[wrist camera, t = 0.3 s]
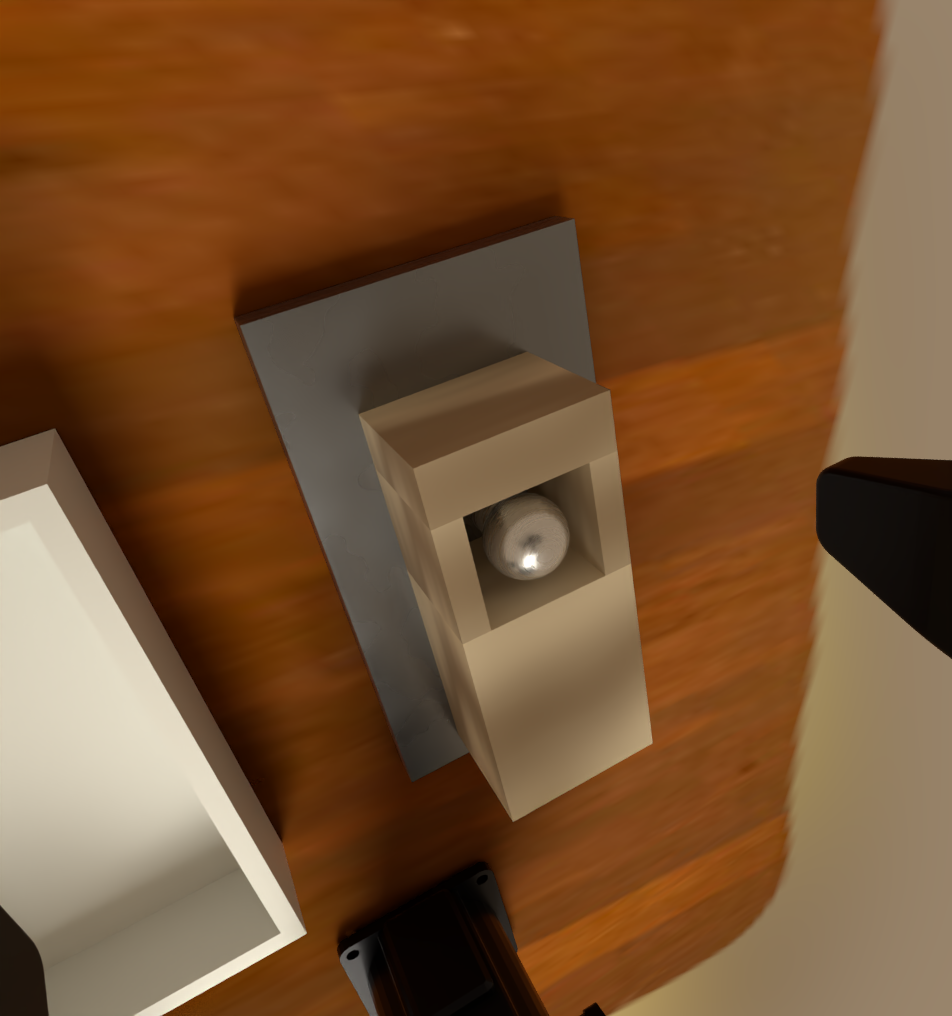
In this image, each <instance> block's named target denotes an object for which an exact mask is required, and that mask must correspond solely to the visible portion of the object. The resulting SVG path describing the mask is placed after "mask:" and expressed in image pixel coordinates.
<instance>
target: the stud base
mask: <svg viewBox="0 0 952 1016" xmlns="http://www.w3.org/2000/svg"><path fill="white" fill-rule="evenodd" d="M234 321H235V323H236V326H237V329H238V331H239V334H240V337H241V339H242V342H243V345H244V347H245V350H246V352H247V355H248V358H249V360H250V363H251V366H252V368H253V371H254V374H255V376H256V379H257V381H258V384H259V387H260V389H261V392H262V395H263V397H264V400H265V403H266V405H267V408H268V410H269V413H270V416H271V418H272V421H273V424H274V426H275V429H276V432H277V434H278V437H279V439H280V442H281V445H282V447H283V450H284V453H285V455H286V458H287V461H288V463H289V466H290V468H291V471H292V474H293V476H294V479H295V482H296V484H297V487H298V490H299V492H300V495H301V497H302V500H303V503H304V505H305V508H306V511H307V513H308V516H309V519H310V521H311V524H312V526H313V529H314V532H315V534H316V537H317V540H318V542H319V545H320V548H321V550H322V553H323V555H324V558H325V561H326V563H327V566H328V569H329V571H330V574H331V577H332V579H333V582H334V584H335V587H336V590H337V592H338V595H339V598H340V600H341V603H342V606H343V608H344V611H345V613H346V616H347V619H348V621H349V624H350V627H351V629H352V632H353V635H354V637H355V640H356V642H357V645H358V648H359V650H360V653H361V656H362V658H363V661H364V664H365V666H366V669H367V671H368V674H369V677H370V679H371V682H372V685H373V687H374V690H375V693H376V695H377V698H378V700H379V703H380V706H381V708H382V711H383V714H384V716H385V719H386V722H387V724H388V727H389V729H390V732H391V735H392V737H393V740H394V743H395V745H396V748H397V751H398V753H399V756H400V758H401V761H402V763H403V765H404V767H405V769H406V771H407V773H408V775H409V777H410V779H411V781H412V782H414V781H416V780H417V779H419V778H421V777H423V776H425V775H427V774H429V773H431V772H433V771H435V770H436V769H438V768H440V767H442V766H444V765H446V764H448V763H450V762H452V761H453V760H455V759H457V758H459V757H461V756H463V755H465V754H467V753H469V751H468V749H467V747H466V746H465V744H464V743H463V741H462V739H461V738H460V736H459V735H458V731H457V728H456V725H455V722H454V719H453V715H452V712H451V709H450V706H449V703H448V699H447V696H446V693H445V690H444V687H443V683H442V680H441V677H440V674H439V671H438V667H437V664H436V661H435V658H434V655H433V651H432V648H431V645H430V642H429V639H428V635H427V632H426V629H425V626H424V623H423V619H422V616H421V613H420V610H419V607H418V603H417V600H416V597H415V594H414V591H413V587H412V584H411V581H410V578H409V575H408V572H407V568H406V565H405V562H404V559H403V556H402V552H401V549H400V546H399V543H398V540H397V536H396V533H395V530H394V527H393V524H392V520H391V517H390V514H389V511H388V508H387V504H386V501H385V498H384V495H383V492H382V488H381V485H380V482H379V479H378V476H377V472H376V469H375V466H374V463H373V460H372V456H371V453H370V450H369V447H368V444H367V440H366V437H365V434H364V431H363V428H362V424H361V421H360V418H359V415H358V414H360V413H363V412H366V411H368V410H371V409H374V408H376V407H379V406H382V405H385V404H387V403H390V402H393V401H395V400H398V399H401V398H403V397H406V396H409V395H412V394H414V393H417V392H420V391H422V390H425V389H428V388H430V387H433V386H436V385H439V384H441V383H444V382H447V381H449V380H452V379H455V378H457V377H460V376H463V375H466V374H468V373H471V372H474V371H476V370H479V369H482V368H484V367H487V366H490V365H493V364H495V363H498V362H501V361H503V360H506V359H509V358H512V357H514V356H517V355H520V354H522V353H525V352H529V353H531V354H533V355H536V356H538V357H540V358H542V359H544V360H546V361H549V362H551V363H553V364H555V365H557V366H559V367H562V368H564V369H566V370H568V371H570V372H572V373H574V374H577V375H579V376H581V377H583V378H585V379H587V380H590V381H592V382H594V383H596V381H595V373H594V365H593V358H592V350H591V342H590V335H589V327H588V319H587V312H586V304H585V296H584V289H583V281H582V274H581V266H580V258H579V251H578V243H577V235H576V228H575V220H574V219H573V218H566V217H558V216H553V217H550V218H547V219H544V220H541V221H538V222H534V223H531V224H528V225H525V226H522V227H519V228H515V229H512V230H509V231H506V232H503V233H500V234H497V235H493V236H490V237H487V238H484V239H481V240H478V241H474V242H471V243H468V244H465V245H462V246H459V247H455V248H452V249H449V250H446V251H443V252H440V253H436V254H433V255H430V256H427V257H424V258H421V259H417V260H414V261H411V262H408V263H405V264H402V265H399V266H395V267H392V268H389V269H386V270H383V271H380V272H376V273H373V274H370V275H367V276H364V277H361V278H357V279H354V280H351V281H348V282H345V283H342V284H338V285H335V286H332V287H329V288H326V289H323V290H319V291H316V292H313V293H310V294H307V295H304V296H301V297H297V298H294V299H291V300H288V301H285V302H282V303H278V304H275V305H272V306H269V307H266V308H263V309H259V310H256V311H253V312H250V313H247V314H244V315H240V316H237V317H234ZM463 521H464V525H465V529H466V533H467V537H468V541H469V542H471V541H473V540H475V539H478V538H480V537H482V543H483V548H484V551H485V553H486V556H487V558H488V559H489V561H490V562H491V564H492V565H493V566H494V567H495V568H496V569H497V570H498V571H500V572H501V573H502V574H504V575H506V576H508V577H510V578H514V579H517V580H534V579H538V578H541V577H544V576H546V575H548V574H549V573H551V572H552V571H553V570H555V569H556V568H557V567H558V566H559V565H560V563H561V562H562V561H563V559H564V557H565V555H566V553H567V550H568V547H569V540H570V533H569V527H568V523H567V521H566V518H565V516H564V514H563V513H562V511H561V510H560V509H559V507H558V506H557V505H556V504H555V503H553V502H552V501H551V500H549V499H547V498H546V497H544V496H541V495H538V494H534V493H528V492H527V490H525V491H522V492H520V493H518V494H515V495H513V496H511V497H508V498H506V499H504V500H501V501H499V502H497V503H494V504H492V505H490V506H487V507H485V508H483V509H480V510H478V511H476V512H473V513H471V514H469V515H466V516H464V517H463Z"/></svg>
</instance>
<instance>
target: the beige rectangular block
mask: <svg viewBox="0 0 952 1016" xmlns="http://www.w3.org/2000/svg"><path fill="white" fill-rule="evenodd" d="M358 415H359V418H360V421H361V424H362V428H363V431H364V434H365V437H366V440H367V444H368V447H369V450H370V453H371V456H372V460H373V463H374V466H375V469H376V472H377V476H378V479H379V482H380V485H381V488H382V492H383V495H384V498H385V501H386V504H387V508H388V511H389V514H390V517H391V520H392V524H393V527H394V530H395V533H396V536H397V540H398V543H399V546H400V549H401V552H402V556H403V559H404V562H405V565H406V568H407V572H408V575H409V578H410V581H411V584H412V587H413V591H414V594H415V597H416V600H417V603H418V607H419V610H420V613H421V616H422V619H423V623H424V626H425V629H426V632H427V635H428V639H429V642H430V645H431V648H432V651H433V655H434V658H435V661H436V664H437V667H438V671H439V674H440V677H441V680H442V683H443V687H444V690H445V693H446V696H447V699H448V703H449V706H450V709H451V712H452V715H453V719H454V722H455V725H456V728H457V731H458V735H459V736H460V738H461V739H462V741H463V743H464V744H465V746H466V747H467V749H468V751H469V752H470V754H471V755H472V757H473V759H474V760H475V762H476V763H477V765H478V767H479V768H480V770H481V772H482V773H483V775H484V776H485V778H486V780H487V781H488V783H489V784H490V786H491V788H492V789H493V791H494V792H495V794H496V796H497V797H498V799H499V800H500V802H501V804H502V805H503V807H504V808H505V810H506V812H507V813H508V815H509V816H510V818H511V820H512V821H513V822H514V821H516V820H518V819H519V818H521V817H523V816H525V815H526V814H528V813H530V812H532V811H534V810H535V809H537V808H539V807H541V806H542V805H544V804H546V803H548V802H549V801H551V800H553V799H555V798H557V797H558V796H560V795H562V794H564V793H565V792H567V791H569V790H571V789H572V788H574V787H576V786H578V785H580V784H581V783H583V782H585V781H587V780H588V779H590V778H592V777H594V776H595V775H597V774H599V773H601V772H602V771H604V770H606V769H608V768H610V767H611V766H613V765H615V764H617V763H618V762H620V761H622V760H624V759H625V758H627V757H629V756H631V755H633V754H634V753H636V752H638V751H640V750H641V749H643V748H645V747H647V746H648V745H650V744H652V743H653V742H652V734H651V726H650V717H649V709H648V701H647V693H646V684H645V676H644V668H643V659H642V651H641V643H640V635H639V626H638V618H637V610H636V601H635V593H634V585H633V577H632V568H631V560H630V552H629V544H628V535H627V527H626V519H625V510H624V502H623V494H622V486H621V477H620V469H619V461H618V452H617V444H616V436H615V428H614V419H613V411H612V403H611V395H610V390H609V389H607V388H605V387H603V386H600V385H598V384H596V383H594V382H592V381H590V380H587V379H585V378H583V377H581V376H579V375H577V374H574V373H572V372H570V371H568V370H566V369H564V368H562V367H559V366H557V365H555V364H553V363H551V362H549V361H546V360H544V359H542V358H540V357H538V356H536V355H533V354H531V353H529V352H525V353H522V354H520V355H517V356H514V357H512V358H509V359H506V360H503V361H501V362H498V363H495V364H493V365H490V366H487V367H484V368H482V369H479V370H476V371H474V372H471V373H468V374H466V375H463V376H460V377H457V378H455V379H452V380H449V381H447V382H444V383H441V384H439V385H436V386H433V387H430V388H428V389H425V390H422V391H420V392H417V393H414V394H412V395H409V396H406V397H403V398H401V399H398V400H395V401H393V402H390V403H387V404H385V405H382V406H379V407H376V408H374V409H371V410H368V411H366V412H363V413H360V414H358ZM525 490H527V492H528V493H534V494H538V495H541V496H544V497H546V498H547V499H549V500H551V501H552V502H553V503H555V504H556V505H557V506H558V507H559V509H560V510H561V511H562V513H563V514H564V516H565V518H566V521H567V523H568V527H569V533H570V540H569V547H568V550H567V553H566V555H565V557H564V559H563V561H562V562H561V563H560V565H559V566H558V567H557V568H556V569H555V570H553V571H552V572H551V573H549V574H548V575H546V576H544V577H541V578H538V579H534V580H517V579H514V578H510V577H508V576H506V575H504V574H502V573H501V572H500V571H498V570H497V569H496V568H495V567H494V566H493V565H492V564H491V562H490V561H489V559H488V558H487V556H486V553H485V551H484V548H483V543H482V537H480V538H478V539H475V540H473V541H471V542H469V541H468V537H467V533H466V529H465V525H464V521H463V517H464V516H466V515H469V514H471V513H473V512H476V511H478V510H480V509H483V508H485V507H487V506H490V505H492V504H494V503H497V502H499V501H501V500H504V499H506V498H508V497H511V496H513V495H515V494H518V493H520V492H522V491H525Z"/></svg>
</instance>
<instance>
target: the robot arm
mask: <svg viewBox="0 0 952 1016" xmlns="http://www.w3.org/2000/svg"><path fill="white" fill-rule="evenodd" d="M816 532H817V536H818V539H819V541H820V543H821V545H822V546H823V547H824V549H825V550H826V551H827V552H828V553H829V554H830V555H831V556H833V557H834V558H835V559H836V560H837V561H838V562H839V563H840V564H841V565H843V566H844V567H845V568H846V569H847V570H848V571H849V572H850V573H852V574H853V575H854V576H855V577H856V578H857V579H858V580H860V581H861V582H862V583H863V584H864V585H865V586H866V587H867V588H868V589H870V590H871V591H872V592H873V593H874V594H875V595H876V596H877V597H879V598H880V599H881V600H882V601H883V602H884V603H885V604H886V605H887V606H889V607H890V608H891V609H892V610H893V611H894V612H895V613H896V614H898V615H899V616H900V617H901V618H902V619H903V620H904V621H905V622H907V623H908V624H909V625H910V626H911V627H912V628H914V629H915V630H916V631H917V632H918V633H919V634H921V635H922V636H923V637H924V638H925V639H927V640H928V641H929V642H930V643H932V644H933V645H934V646H935V647H937V648H938V649H939V650H941V651H942V652H943V653H945V654H946V655H947V656H949V657H950V658H951V659H952V460H931V459H906V458H882V457H881V458H880V457H850V458H846V459H844V460H842V461H840V462H838V463H836V464H834V465H832V466H829V467H827V468H826V469H824V470H823V471H822V472H821V473H820V474H819V476H818V479H817V483H816ZM337 952H338V956H339V959H340V962H341V964H342V966H343V968H344V969H345V971H346V973H347V975H348V977H349V978H350V980H351V982H352V984H353V986H354V987H355V989H356V991H357V993H358V995H359V996H360V998H361V1000H362V1002H363V1004H364V1005H365V1007H366V1009H367V1011H368V1013H369V1014H370V1016H549V1014H548V1012H547V1010H546V1008H545V1007H544V1005H543V1003H542V1001H541V999H540V997H539V995H538V993H537V991H536V989H535V988H534V986H533V984H532V982H531V980H530V978H529V976H528V974H527V972H526V970H525V969H524V967H523V965H522V963H521V961H520V959H519V957H518V955H517V945H516V942H515V939H514V936H513V933H512V930H511V926H510V923H509V920H508V917H507V914H506V911H505V908H504V905H503V902H502V899H501V895H500V892H499V889H498V886H497V883H496V880H495V877H494V874H493V872H492V870H491V868H490V866H489V865H488V863H486V862H479V863H477V864H475V865H473V866H471V867H470V868H468V869H466V870H464V871H463V872H461V873H459V874H457V875H456V876H454V877H452V878H451V879H449V880H447V881H445V882H444V883H442V884H440V885H438V886H437V887H435V888H433V889H431V890H430V891H428V892H426V893H424V894H423V895H421V896H419V897H417V898H416V899H414V900H412V901H411V902H409V903H407V904H405V905H404V906H402V907H400V908H398V909H397V910H395V911H393V912H391V913H390V914H388V915H386V916H384V917H383V918H381V919H379V920H377V921H376V922H374V923H372V924H370V925H369V926H367V927H365V928H364V929H362V930H360V931H358V932H357V933H355V934H353V935H351V936H350V937H348V938H346V939H345V940H343V941H342V942H341V943H340V944H339V946H338V948H337ZM0 1016H49V1012H48V1002H47V993H46V984H45V975H44V967H43V963H42V959H41V956H40V953H39V951H38V949H37V947H36V945H35V943H34V942H33V941H32V939H31V938H30V937H29V936H28V935H27V934H26V933H25V932H24V930H23V929H22V928H21V927H20V926H19V925H18V924H17V923H16V922H15V921H14V920H13V918H12V917H11V916H10V915H9V914H8V913H7V912H6V911H5V910H4V909H3V908H2V907H1V905H0ZM580 1016H605V1014H604V1013H603V1011H602V1010H601V1009H600V1007H599V1006H598V1004H597V1003H596V1002H595V1003H594V1004H592V1005H590V1006H589V1007H587V1008H586V1009H584V1010H583V1014H582V1015H580Z"/></svg>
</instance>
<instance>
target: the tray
mask: <svg viewBox="0 0 952 1016" xmlns="http://www.w3.org/2000/svg"><path fill="white" fill-rule="evenodd" d="M0 905H1V907H2V908H3V909H4V910H5V911H6V912H7V913H8V914H9V915H10V916H11V917H12V918H13V920H14V921H15V922H16V923H17V924H18V925H19V926H20V927H21V928H22V929H23V930H24V932H25V933H26V934H27V935H28V936H29V937H30V938H31V939H32V941H33V942H34V943H35V945H36V947H37V949H38V951H39V953H40V956H41V959H42V963H43V967H44V975H45V984H46V993H47V1002H48V1012H49V1016H162V1015H163V1014H165V1013H167V1012H169V1011H170V1010H172V1009H174V1008H176V1007H177V1006H179V1005H181V1004H183V1003H185V1002H186V1001H188V1000H190V999H192V998H193V997H195V996H197V995H199V994H201V993H202V992H204V991H206V990H208V989H209V988H211V987H213V986H215V985H217V984H218V983H220V982H222V981H224V980H225V979H227V978H229V977H231V976H232V975H234V974H236V973H238V972H240V971H241V970H243V969H245V968H247V967H248V966H250V965H252V964H254V963H256V962H257V961H259V960H261V959H263V958H264V957H266V956H268V955H270V954H271V953H273V952H275V951H277V950H279V949H280V948H282V947H284V946H286V945H287V944H289V943H291V942H293V941H295V940H296V939H298V938H300V937H302V936H303V935H305V934H307V932H306V929H305V925H304V921H303V918H302V914H301V910H300V907H299V903H298V899H297V896H296V892H295V888H294V884H293V881H292V877H291V873H290V870H289V866H288V862H287V859H286V855H285V851H284V848H283V844H282V842H281V840H280V839H279V837H278V835H277V833H276V831H275V829H274V828H273V826H272V824H271V822H270V820H269V818H268V817H267V815H266V813H265V811H264V809H263V808H262V806H261V804H260V802H259V800H258V798H257V797H256V795H255V793H254V791H253V789H252V787H251V786H250V784H249V782H248V780H247V778H246V776H245V775H244V773H243V771H242V769H241V767H240V765H239V764H238V762H237V760H236V758H235V756H234V755H233V753H232V751H231V749H230V747H229V745H228V744H227V742H226V740H225V738H224V736H223V734H222V733H221V731H220V729H219V727H218V725H217V723H216V722H215V720H214V718H213V716H212V714H211V712H210V711H209V709H208V707H207V705H206V703H205V702H204V700H203V698H202V696H201V694H200V692H199V691H198V689H197V687H196V685H195V683H194V681H193V680H192V678H191V676H190V674H189V672H188V670H187V669H186V667H185V665H184V663H183V661H182V659H181V658H180V656H179V654H178V652H177V650H176V649H175V647H174V645H173V643H172V641H171V639H170V638H169V636H168V634H167V632H166V630H165V628H164V627H163V625H162V623H161V621H160V619H159V617H158V616H157V614H156V612H155V610H154V608H153V606H152V605H151V603H150V601H149V599H148V597H147V596H146V594H145V592H144V590H143V588H142V586H141V585H140V583H139V581H138V579H137V577H136V575H135V574H134V572H133V570H132V568H131V566H130V564H129V563H128V561H127V559H126V557H125V555H124V553H123V552H122V550H121V548H120V546H119V544H118V543H117V541H116V539H115V537H114V535H113V533H112V532H111V530H110V528H109V526H108V524H107V522H106V521H105V519H104V517H103V515H102V513H101V511H100V510H99V508H98V506H97V504H96V502H95V500H94V499H93V497H92V495H91V493H90V491H89V490H88V488H87V486H86V484H85V482H84V480H83V479H82V477H81V475H80V473H79V471H78V469H77V468H76V466H75V464H74V462H73V460H72V458H71V457H70V455H69V453H68V451H67V449H66V447H65V446H64V444H63V442H62V440H61V438H60V437H59V435H58V433H57V431H56V429H55V428H54V429H51V430H49V431H46V432H43V433H40V434H37V435H34V436H31V437H28V438H25V439H22V440H19V441H16V442H13V443H10V444H7V445H4V446H1V447H0Z"/></svg>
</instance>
